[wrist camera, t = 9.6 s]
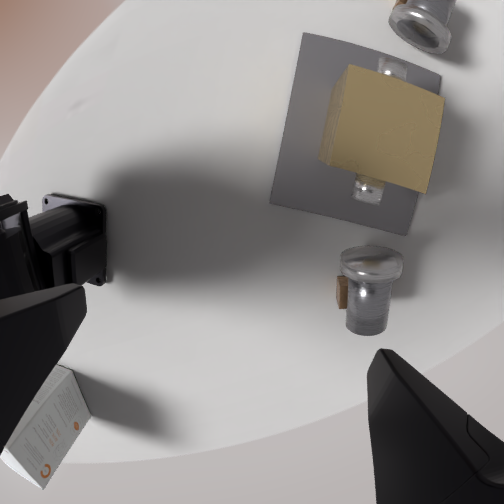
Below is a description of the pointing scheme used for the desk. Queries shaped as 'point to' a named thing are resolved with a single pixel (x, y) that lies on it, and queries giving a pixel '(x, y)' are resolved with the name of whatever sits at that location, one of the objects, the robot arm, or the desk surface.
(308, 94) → the mat
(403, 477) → the robot arm
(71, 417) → the small box
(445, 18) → the shaft
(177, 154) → the desk surface
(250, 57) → the desk surface
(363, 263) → the shaft
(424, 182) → the coupler
